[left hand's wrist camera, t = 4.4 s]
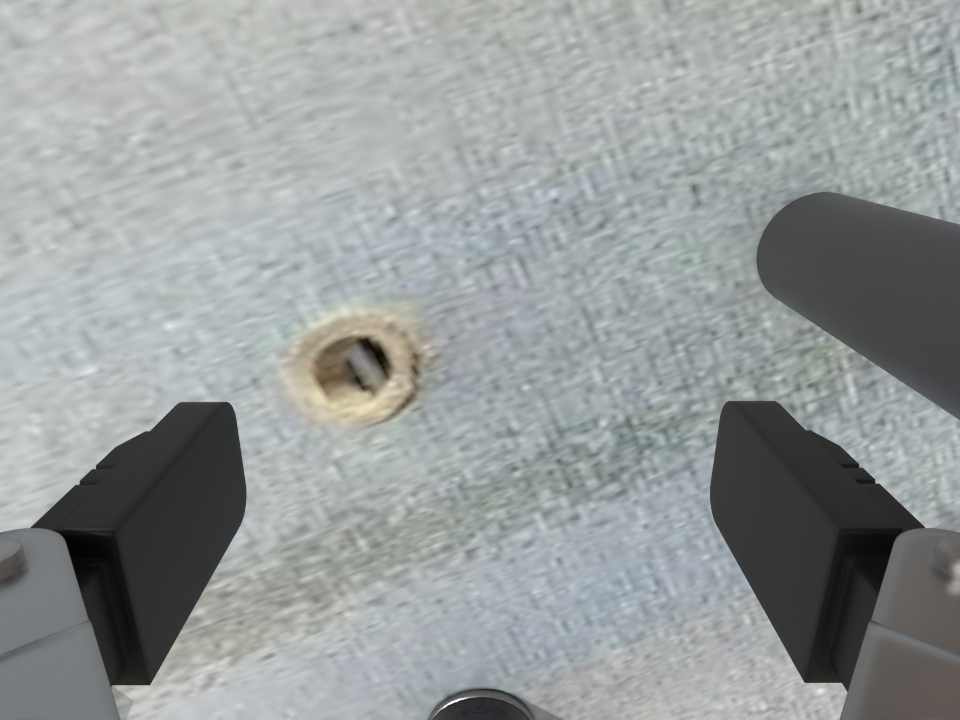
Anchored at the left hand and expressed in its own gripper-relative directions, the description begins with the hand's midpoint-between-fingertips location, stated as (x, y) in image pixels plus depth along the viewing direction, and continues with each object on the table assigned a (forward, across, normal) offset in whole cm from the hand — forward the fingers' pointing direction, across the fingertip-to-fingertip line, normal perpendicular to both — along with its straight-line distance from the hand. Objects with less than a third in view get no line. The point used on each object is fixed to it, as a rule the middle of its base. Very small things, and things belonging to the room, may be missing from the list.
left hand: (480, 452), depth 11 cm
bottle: (+33, +21, -4) cm, 39 cm away
